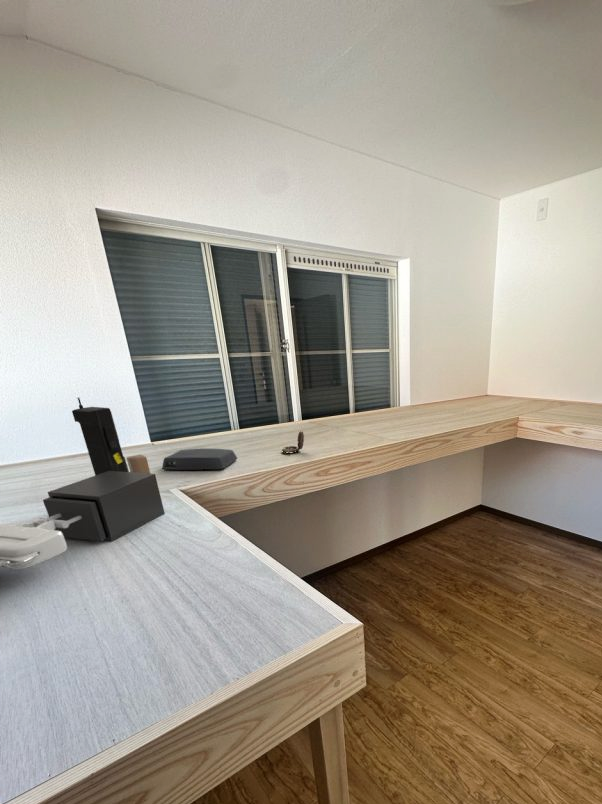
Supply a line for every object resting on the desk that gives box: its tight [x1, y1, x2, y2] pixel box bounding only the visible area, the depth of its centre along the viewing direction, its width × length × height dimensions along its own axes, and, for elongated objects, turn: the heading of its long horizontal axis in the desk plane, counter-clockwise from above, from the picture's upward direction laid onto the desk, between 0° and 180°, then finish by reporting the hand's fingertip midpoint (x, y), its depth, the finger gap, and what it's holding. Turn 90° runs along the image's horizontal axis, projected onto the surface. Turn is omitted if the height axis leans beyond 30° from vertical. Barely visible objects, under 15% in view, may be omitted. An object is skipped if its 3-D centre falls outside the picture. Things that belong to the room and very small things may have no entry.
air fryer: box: [47, 471, 166, 542], centre depth 89 cm, size 15×13×10 cm
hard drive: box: [161, 447, 238, 471], centre depth 132 cm, size 13×19×4 cm
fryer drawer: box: [37, 497, 107, 542], centre depth 85 cm, size 18×11×8 cm, turn 166°
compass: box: [281, 430, 305, 453], centre depth 144 cm, size 8×8×7 cm
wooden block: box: [126, 454, 151, 474], centre depth 114 cm, size 4×4×8 cm
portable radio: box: [71, 397, 130, 476], centre depth 100 cm, size 8×6×25 cm
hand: (48, 523), depth 76 cm, fingers closed, pressing on fryer drawer
